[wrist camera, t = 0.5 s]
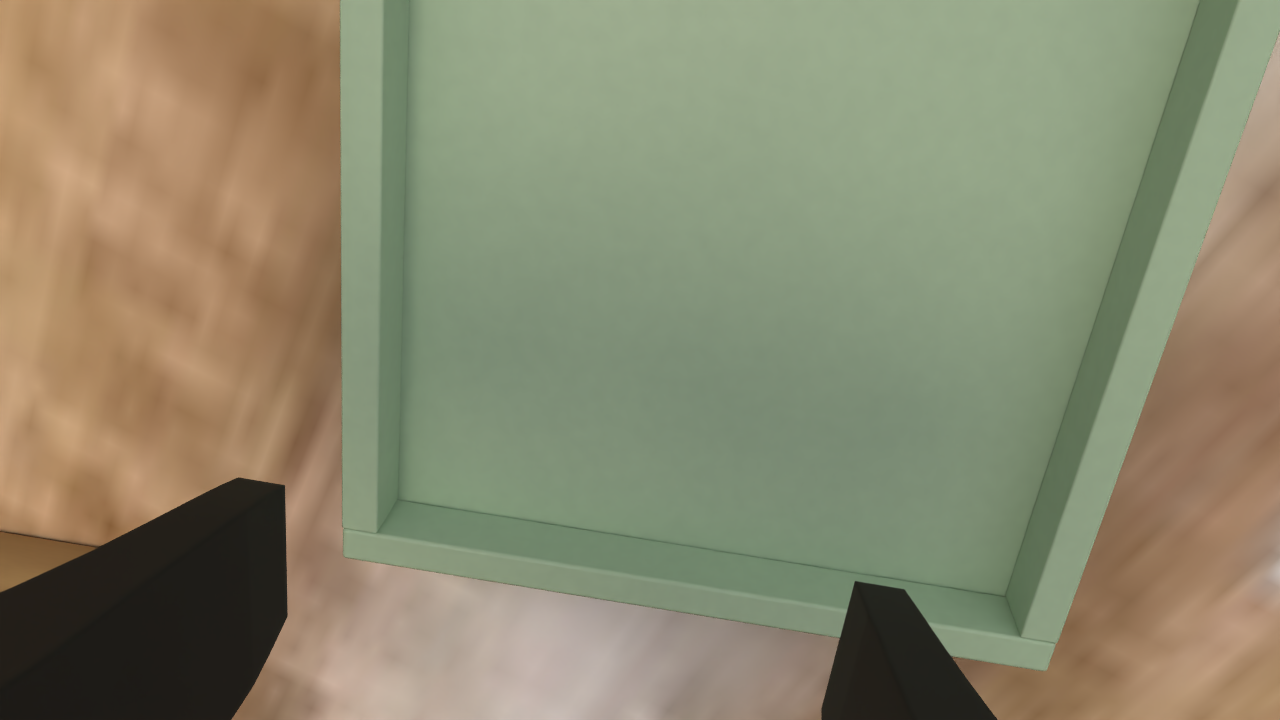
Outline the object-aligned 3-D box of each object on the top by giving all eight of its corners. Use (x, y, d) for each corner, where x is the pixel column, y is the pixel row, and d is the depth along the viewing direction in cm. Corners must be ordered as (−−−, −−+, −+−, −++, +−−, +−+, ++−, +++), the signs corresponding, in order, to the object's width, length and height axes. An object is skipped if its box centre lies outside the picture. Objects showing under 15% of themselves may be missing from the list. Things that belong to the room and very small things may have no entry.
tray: (1025, 615, 24) (1047, 673, 22) (372, 510, 25) (341, 559, 23) (1374, -406, 16) (1454, -446, 14) (382, -516, 16) (335, -568, 15)
